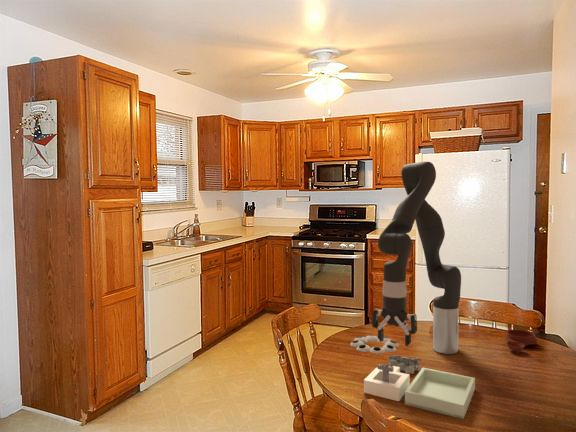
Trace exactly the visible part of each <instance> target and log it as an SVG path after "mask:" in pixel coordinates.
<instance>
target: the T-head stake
mask: <svg viewBox="0 0 576 432" xmlns="http://www.w3.org/2000/svg"><path fill="white" fill-rule="evenodd" d="M377 368H378V369H380V370H382V381H383V382H388V383H389V372H393V371H394V367H392V366H389V365H388V364H382V363H379V364H378V365H377Z"/></svg>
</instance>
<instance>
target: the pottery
mask: <svg viewBox="0 0 576 432" xmlns="http://www.w3.org/2000/svg"><path fill="white" fill-rule="evenodd" d="M504 339H505V340H506V341H507V342H506V343H505V344H506V346H507V347H508V349H509V350H511V353H513V354H519V353H521V351H523V350H524V349H525V347H529V346H530V345H534V344H537V343H538V339H537V338H536V334H535V333H534V332H532V331H529V330H523V329H515V328H514V329H509V330H507V331H506V335H504Z"/></svg>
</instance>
